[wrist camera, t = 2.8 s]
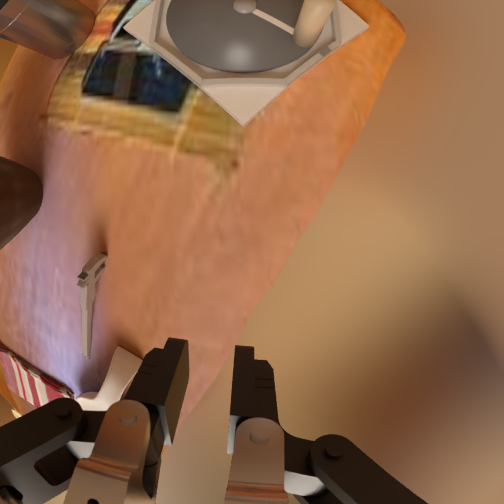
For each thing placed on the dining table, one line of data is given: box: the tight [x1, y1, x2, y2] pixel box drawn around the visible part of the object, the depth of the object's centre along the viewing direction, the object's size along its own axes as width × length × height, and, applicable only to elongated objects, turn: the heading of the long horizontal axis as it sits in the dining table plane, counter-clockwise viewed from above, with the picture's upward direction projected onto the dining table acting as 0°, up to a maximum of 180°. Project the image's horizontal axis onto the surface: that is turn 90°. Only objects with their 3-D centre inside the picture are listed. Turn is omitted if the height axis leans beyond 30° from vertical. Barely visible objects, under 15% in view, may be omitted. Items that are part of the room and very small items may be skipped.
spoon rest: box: [75, 346, 143, 411], centre depth 37 cm, size 24×12×7 cm, turn 148°
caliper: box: [77, 253, 107, 359], centre depth 33 cm, size 20×1×6 cm, turn 155°
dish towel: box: [0, 344, 76, 408], centre depth 42 cm, size 17×23×3 cm
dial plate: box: [123, 0, 370, 127], centre depth 23 cm, size 22×22×3 cm
